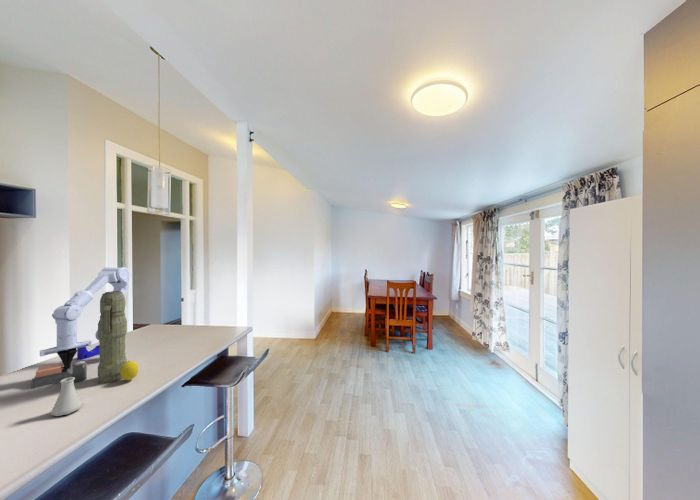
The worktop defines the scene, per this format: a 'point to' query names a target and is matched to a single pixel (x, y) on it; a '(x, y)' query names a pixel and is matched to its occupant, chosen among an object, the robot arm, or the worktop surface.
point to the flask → (67, 399)
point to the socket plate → (52, 378)
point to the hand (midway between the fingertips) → (66, 368)
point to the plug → (80, 371)
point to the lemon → (129, 370)
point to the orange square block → (49, 369)
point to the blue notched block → (87, 352)
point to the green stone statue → (111, 336)
